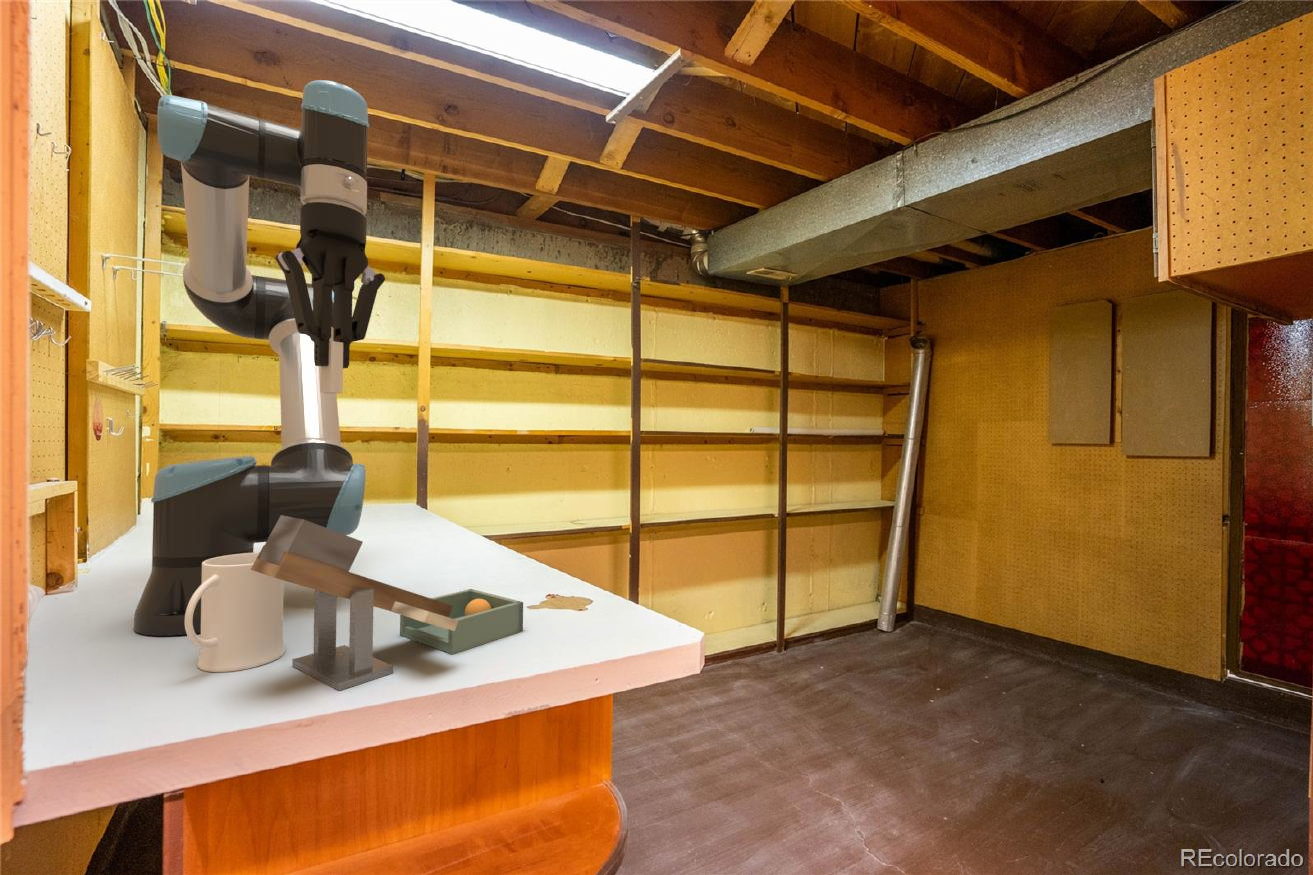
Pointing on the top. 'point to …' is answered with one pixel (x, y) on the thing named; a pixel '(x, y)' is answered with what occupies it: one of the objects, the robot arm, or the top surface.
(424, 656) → the top surface
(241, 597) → the mug
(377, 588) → the lever
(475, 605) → the ball
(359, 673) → the stand
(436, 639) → the tray
